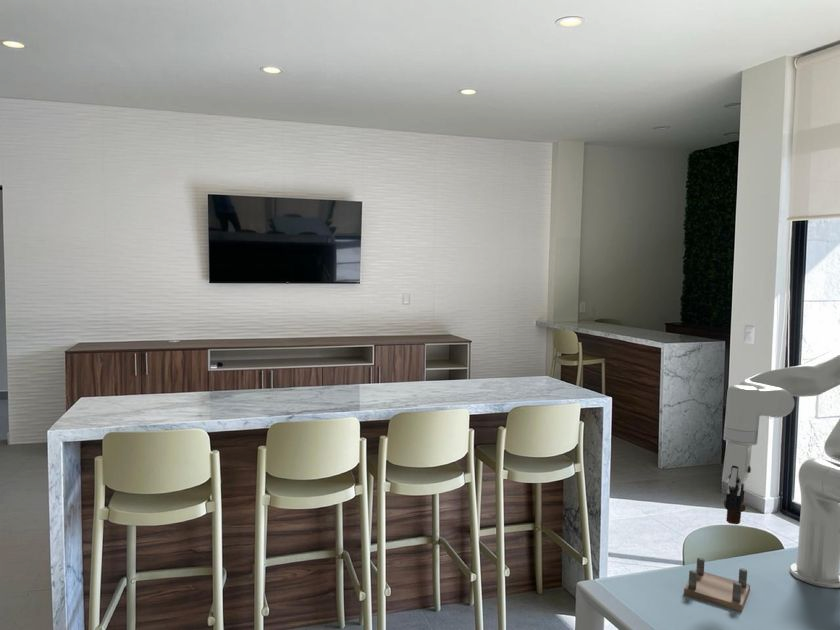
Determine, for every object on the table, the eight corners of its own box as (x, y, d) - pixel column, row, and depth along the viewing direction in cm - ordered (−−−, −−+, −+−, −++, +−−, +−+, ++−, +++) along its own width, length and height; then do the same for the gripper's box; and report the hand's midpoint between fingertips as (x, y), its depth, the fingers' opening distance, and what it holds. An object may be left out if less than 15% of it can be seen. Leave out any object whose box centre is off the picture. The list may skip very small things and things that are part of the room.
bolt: (747, 528, 155) (752, 468, 155) (725, 525, 156) (730, 465, 155) (740, 519, 161) (745, 461, 160) (719, 517, 162) (724, 459, 161)
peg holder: (695, 575, 169) (696, 554, 168) (749, 590, 161) (751, 569, 161) (683, 594, 158) (685, 573, 158) (741, 611, 151) (743, 589, 150)
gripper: (729, 427, 166) (723, 495, 168) (718, 438, 153) (711, 512, 154) (761, 432, 162) (755, 502, 163) (752, 444, 148) (746, 521, 149)
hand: (734, 506), depth 158 cm, fingers closed on bolt, 4 cm apart
